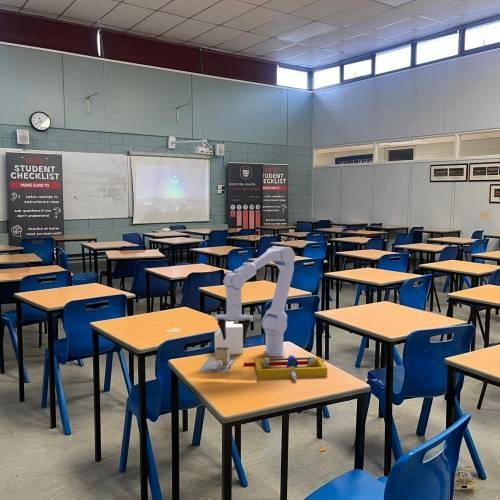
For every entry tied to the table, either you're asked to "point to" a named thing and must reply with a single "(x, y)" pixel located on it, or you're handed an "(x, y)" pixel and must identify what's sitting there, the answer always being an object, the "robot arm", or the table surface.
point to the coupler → (223, 355)
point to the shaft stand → (216, 365)
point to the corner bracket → (231, 338)
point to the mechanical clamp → (289, 367)
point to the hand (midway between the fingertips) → (234, 339)
